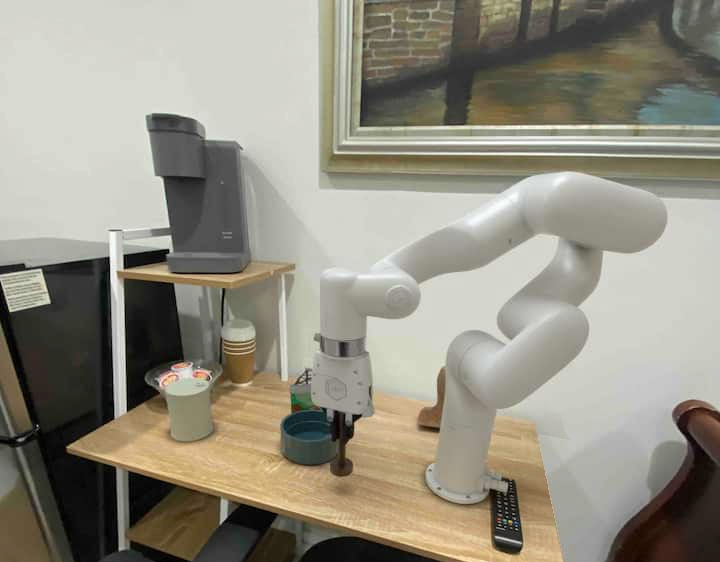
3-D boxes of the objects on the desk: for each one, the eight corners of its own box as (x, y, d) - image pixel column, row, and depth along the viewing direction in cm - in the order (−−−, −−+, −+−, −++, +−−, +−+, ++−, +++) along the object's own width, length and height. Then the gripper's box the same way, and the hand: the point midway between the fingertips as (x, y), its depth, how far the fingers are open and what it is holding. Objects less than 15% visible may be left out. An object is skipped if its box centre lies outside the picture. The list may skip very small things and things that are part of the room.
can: (213, 438, 89) (209, 391, 84) (169, 444, 85) (162, 395, 81) (213, 418, 97) (209, 374, 92) (172, 423, 94) (166, 377, 89)
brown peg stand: (356, 465, 74) (358, 409, 70) (347, 479, 71) (348, 420, 66) (335, 459, 76) (336, 404, 72) (325, 473, 72) (325, 415, 68)
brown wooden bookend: (473, 414, 105) (482, 363, 100) (479, 438, 94) (490, 382, 89) (417, 408, 107) (423, 357, 102) (416, 430, 96) (423, 375, 91)
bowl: (349, 440, 91) (350, 417, 89) (324, 472, 79) (324, 447, 77) (299, 426, 95) (299, 404, 93) (269, 456, 84) (268, 431, 81)
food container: (313, 425, 96) (313, 388, 92) (289, 421, 97) (289, 385, 93) (327, 402, 107) (328, 369, 104) (305, 399, 108) (306, 366, 105)
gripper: (290, 344, 64) (294, 440, 70) (380, 359, 59) (375, 461, 65) (312, 331, 70) (313, 420, 77) (395, 344, 65) (389, 438, 72)
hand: (342, 438), depth 71 cm, fingers closed on brown peg stand, 1 cm apart
